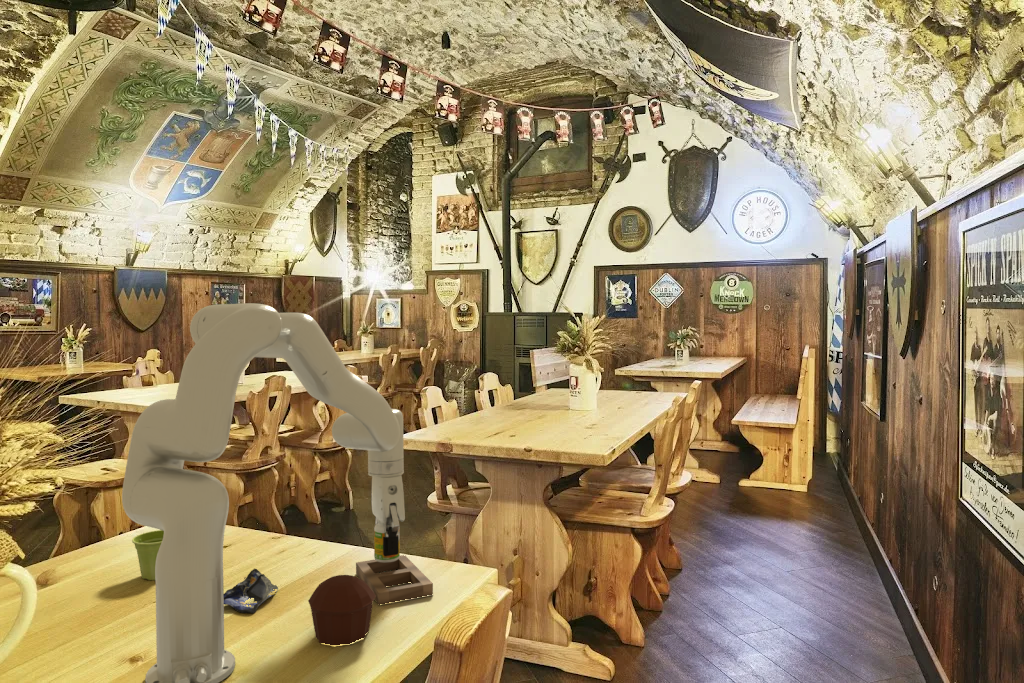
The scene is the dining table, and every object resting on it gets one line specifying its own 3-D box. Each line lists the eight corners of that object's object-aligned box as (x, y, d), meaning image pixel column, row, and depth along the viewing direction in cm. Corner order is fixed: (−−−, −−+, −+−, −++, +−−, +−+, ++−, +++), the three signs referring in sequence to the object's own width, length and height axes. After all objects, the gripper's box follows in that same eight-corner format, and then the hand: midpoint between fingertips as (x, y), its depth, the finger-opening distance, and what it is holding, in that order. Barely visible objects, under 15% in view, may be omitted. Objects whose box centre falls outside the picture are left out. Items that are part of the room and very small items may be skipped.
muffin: (295, 636, 119) (295, 579, 118) (348, 615, 127) (348, 562, 127) (335, 657, 111) (335, 597, 111) (389, 634, 119) (388, 577, 119)
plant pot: (181, 579, 146) (180, 539, 146) (131, 586, 142) (130, 545, 142) (181, 565, 154) (181, 527, 154) (134, 572, 150) (133, 533, 150)
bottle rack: (432, 595, 136) (432, 583, 136) (378, 605, 131) (378, 593, 131) (404, 565, 153) (404, 554, 153) (356, 573, 149) (355, 562, 148)
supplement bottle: (370, 562, 144) (369, 516, 144) (380, 553, 150) (380, 509, 149) (393, 564, 143) (393, 518, 143) (403, 555, 148) (403, 511, 148)
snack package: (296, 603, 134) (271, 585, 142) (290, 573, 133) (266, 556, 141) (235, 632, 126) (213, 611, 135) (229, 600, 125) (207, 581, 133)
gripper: (415, 472, 140) (416, 560, 140) (391, 458, 155) (392, 536, 156) (379, 476, 137) (380, 566, 137) (359, 461, 152) (360, 541, 152)
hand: (386, 549), depth 146 cm, fingers closed on supplement bottle, 5 cm apart
